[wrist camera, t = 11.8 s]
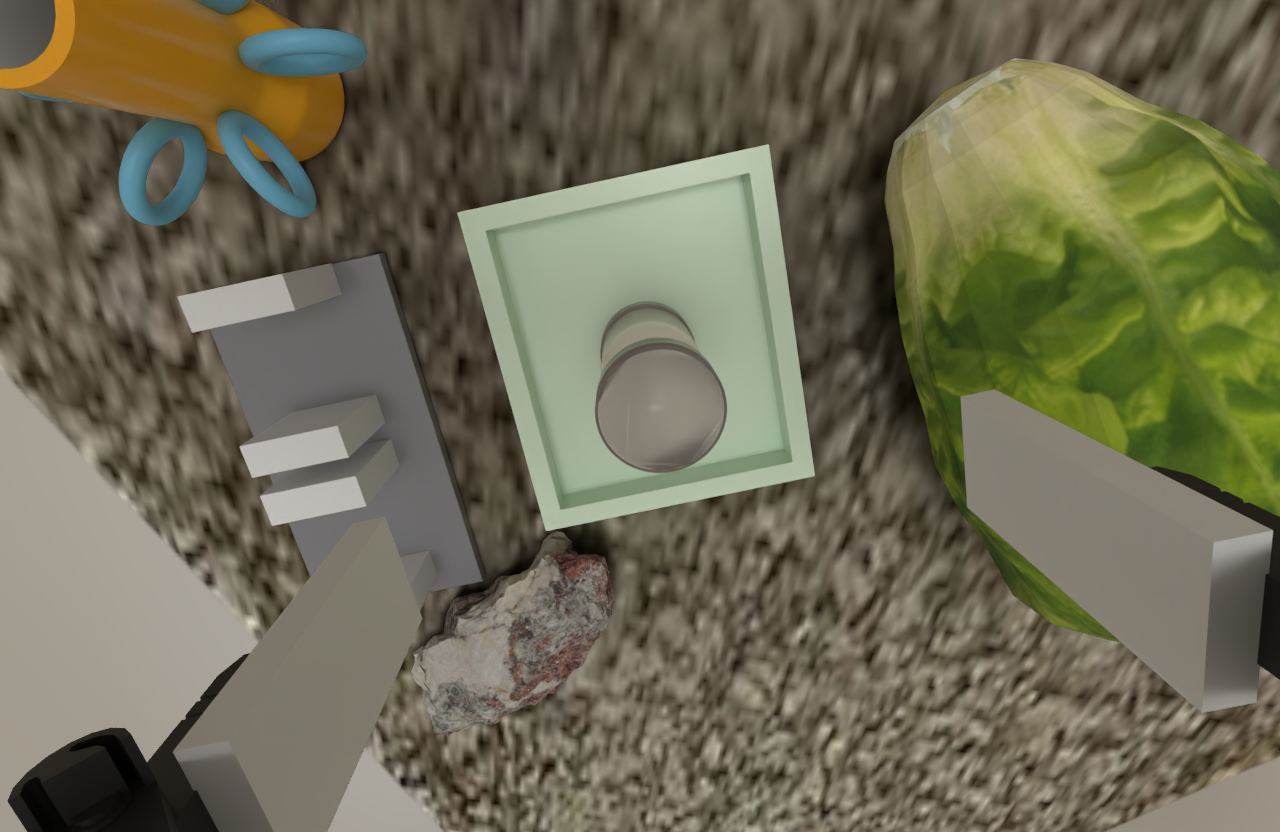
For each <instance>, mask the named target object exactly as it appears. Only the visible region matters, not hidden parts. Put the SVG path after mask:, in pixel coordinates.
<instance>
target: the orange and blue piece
mask: <svg viewBox="0 0 1280 832" xmlns="http://www.w3.org/2000/svg"><path fill="white" fill-rule="evenodd" d="M367 55H368V52H367V48H366V46H365V44H364V43H363V42H362V41H361V40H360V39H359V38H357V37H356V36H354V35H351V34H349V33H345V32H341V31H336V30H330V29H319V28H302V27H301V26H299V25H298V24H296V23H294V22H292V21H291V20H289V19H287V18H285V17H283V16H282V15H280V14H278V13H276V12H275V11H273V10H271V9H269V8H267V7H266V6H264V5H262V4H260V3H258V2H256V1H254V0H0V88H2V89H8V90H13V91H17V92H18V93H20V94H22V95H25V96H27V97H31V98H35V99H40V100H47V101H56V102H72V103H83V104H88V105H94V106H99V107H104V108H110V109H115V110H120V111H125V112H131V113H136V114H141V115H147V116H152V117H157V118H154V119H153V120H151V121H149V122H148V123H146V124H145V125H144V126H143V127H142V128H141V129H140V130H139V131H138V132H137V133H136V134H135V136H134V137H133V139H132V140H131V142H130V143H129V145H128V147H127V149H126V151H125V153H124V156H123V159H122V162H121V166H120V172H119V192H120V197H121V200H122V203H123V205H124V207H125V209H126V210H127V212H128V213H129V214H130V215H131V216H132V217H133V218H134V219H136V220H137V221H139V222H141V223H143V224H147V225H152V226H158V225H164V224H167V223H170V222H172V221H174V220H176V219H177V218H179V217H180V216H181V215H182V214H183V213H184V212H185V211H186V210H187V209H188V208H189V207H190V206H191V205H192V203H193V202H194V200H195V199H196V197H197V195H198V193H199V191H200V189H201V187H202V184H203V182H204V178H205V175H206V170H207V162H208V153H207V148H209V149H211V150H213V151H215V152H218V153H220V154H224V155H227V156H228V158H229V159H230V161H231V162H232V164H233V165H234V166H235V168H236V169H237V170H238V172H239V173H240V174H241V175H242V177H243V178H244V179H245V180H246V181H247V182H248V184H249V185H250V186H251V187H252V188H253V189H254V190H255V191H256V192H257V193H258V194H259V195H261V196H262V197H263V198H264V199H265V200H266V201H268V202H269V203H270V204H271V205H273V206H274V207H276V208H277V209H279V210H280V211H282V212H284V213H286V214H288V215H291V216H294V217H307V216H309V215H311V214H312V213H313V212H314V210H315V208H316V195H315V192H314V189H313V186H312V184H311V182H310V180H309V178H308V176H307V174H306V173H305V171H304V170H303V168H302V167H301V165H300V164H299V162H300V161H304V160H307V159H309V158H312V157H314V156H315V155H317V154H319V153H320V152H321V151H323V150H324V149H325V148H326V147H327V146H328V145H329V144H330V143H331V141H332V140H333V139H334V137H335V136H336V134H337V132H338V130H339V128H340V125H341V123H342V118H343V114H344V99H345V96H344V90H343V84H342V80H341V77H340V74H339V73H342V72H346V71H350V70H353V69H355V68H358V67H359V66H361V65H362V64H363V63H364V62H365V61H366V59H367ZM176 137H179V138H180V139H181V140H182V143H183V146H184V164H183V169H182V172H181V175H180V178H179V180H178V182H177V184H176V185H175V187H174V189H173V190H172V191H171V193H170V194H169V195H168V196H167V197H166V198H165V199H164V200H162V201H161V202H159V203H157V204H153V205H151V204H150V203H149V201H148V199H147V196H146V179H147V174H148V171H149V168H150V165H151V163H152V161H153V159H154V157H155V155H156V154H157V152H158V151H159V150H160V148H161V147H162V146H163V145H164V144H165V143H167V142H168V141H169V140H171V139H173V138H176ZM258 160H260V161H269V162H274V163H275V164H276V166H277V167H278V168H279V169H280V171H281V172H282V173H283V175H284V176H285V178H286V179H287V181H288V183H289V185H290V186H291V188H292V191H293V193H294V194H292V193H291V192H289V191H288V190H286V189H285V188H284V187H283V186H282V185H280V184H279V183H278V182H277V181H276V180H275V179H274V178H273V177H272V176H271V175H270V174H269V173H268V172H267V171H266V170H265V168H264V167H263V166H262V165H261V164H260V162H259V161H258Z"/></svg>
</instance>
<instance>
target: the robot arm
mask: <svg viewBox="0 0 1280 832" xmlns="http://www.w3.org/2000/svg"><path fill="white" fill-rule="evenodd" d="M961 413H962V430H963V446H964V463H965V479H966V496H967V508H969V509H970V510H971V511H972V512H973V513H974V514H975V515H977V516H978V517H979V518H980V519H981V520H982V521H983V522H985V523H986V524H987V525H988V526H989V527H990V528H991V529H993V530H994V531H995V532H996V533H997V534H998V535H999V536H1001V537H1002V538H1003V539H1004V540H1005V541H1006V542H1007V543H1009V544H1010V545H1011V546H1012V547H1013V548H1014V549H1015V550H1017V551H1018V552H1019V553H1020V554H1021V555H1022V556H1023V557H1025V558H1026V559H1027V560H1028V561H1029V562H1030V563H1031V564H1033V565H1034V566H1035V567H1036V568H1037V569H1038V570H1039V571H1041V572H1042V573H1043V574H1044V575H1045V576H1046V577H1047V578H1049V579H1050V580H1051V581H1052V582H1053V583H1054V584H1055V585H1057V586H1058V587H1059V588H1060V589H1061V590H1062V591H1063V592H1064V593H1066V594H1067V595H1068V596H1069V597H1070V598H1071V599H1072V600H1074V601H1075V602H1076V603H1077V604H1078V605H1079V606H1080V607H1082V608H1083V609H1084V610H1085V611H1086V612H1087V613H1088V614H1090V615H1091V616H1092V617H1093V618H1094V619H1095V620H1096V621H1098V622H1099V623H1100V624H1101V625H1102V626H1103V627H1104V628H1106V629H1107V630H1108V631H1109V632H1110V633H1111V634H1112V635H1114V636H1115V637H1116V638H1117V639H1118V640H1119V641H1120V642H1122V643H1123V644H1124V645H1125V646H1126V647H1127V648H1128V649H1130V650H1131V651H1132V652H1133V653H1134V654H1135V655H1136V656H1138V657H1139V658H1140V659H1141V660H1142V661H1143V662H1144V663H1146V664H1147V665H1148V666H1149V667H1150V668H1151V669H1152V670H1154V671H1155V672H1156V673H1157V674H1158V675H1159V676H1160V677H1161V678H1163V679H1164V680H1165V681H1166V682H1167V683H1168V684H1169V685H1171V686H1172V687H1173V688H1174V689H1175V690H1176V691H1177V692H1179V693H1180V694H1181V695H1182V696H1183V697H1184V698H1185V699H1187V700H1188V701H1189V702H1190V703H1191V704H1192V705H1193V706H1195V707H1196V708H1197V709H1198V710H1199V711H1200V712H1201V713H1204V712H1209V711H1214V710H1219V709H1224V708H1230V707H1235V706H1240V705H1245V704H1250V703H1255V702H1256V700H1257V690H1258V680H1259V670H1260V666H1262V667H1263V668H1264V669H1266V670H1267V671H1268V672H1270V673H1271V674H1273V675H1274V676H1275V677H1277V678H1278V679H1279V680H1280V517H1279V516H1277V515H1275V514H1273V513H1270V512H1268V511H1266V510H1264V509H1262V508H1260V507H1258V506H1256V505H1254V504H1252V503H1250V502H1247V503H1244V501H1243V499H1241V498H1239V497H1237V496H1235V495H1233V494H1231V493H1229V492H1227V491H1223V492H1221V490H1220V488H1219V487H1216V486H1214V485H1212V484H1210V483H1208V482H1206V481H1204V480H1202V479H1200V478H1198V477H1196V476H1194V475H1191V474H1187V473H1183V472H1179V471H1175V470H1171V469H1167V468H1163V467H1159V466H1155V467H1150V468H1149V467H1147V466H1145V465H1143V464H1141V463H1139V462H1137V461H1135V460H1133V459H1131V458H1129V457H1127V456H1125V455H1123V454H1121V453H1119V452H1117V451H1115V450H1113V449H1111V448H1109V447H1107V446H1105V445H1103V444H1102V443H1100V442H1098V441H1096V440H1094V439H1092V438H1090V437H1088V436H1086V435H1084V434H1082V433H1080V432H1078V431H1076V430H1074V429H1072V428H1070V427H1068V426H1066V425H1064V424H1062V423H1060V422H1058V421H1056V420H1054V419H1052V418H1050V417H1048V416H1046V415H1044V414H1042V413H1040V412H1038V411H1036V410H1034V409H1032V408H1030V407H1028V406H1026V405H1024V404H1023V403H1021V402H1019V401H1017V400H1015V399H1013V398H1011V397H1009V396H1007V395H1005V394H1003V393H1001V392H999V391H997V390H990V391H985V392H980V393H976V394H971V395H966V396H961ZM421 620H422V616H421V614H420V611H419V608H418V605H417V603H416V600H415V597H414V594H413V592H412V589H411V586H410V583H409V580H408V578H407V575H406V572H405V569H404V567H403V564H402V561H401V558H400V556H399V553H398V550H397V547H396V545H395V542H394V539H393V536H392V534H391V531H390V528H389V525H388V522H387V520H386V517H381V518H376V519H371V520H366V521H361V522H357V523H352V525H351V526H350V527H349V528H348V530H347V531H346V532H345V534H344V535H343V536H342V537H341V539H340V540H339V541H338V542H337V544H336V545H335V546H334V548H333V549H332V550H331V551H330V553H329V554H328V555H327V556H326V558H325V559H324V560H323V561H322V563H321V564H320V565H319V567H318V568H317V569H316V570H315V572H314V573H313V574H312V575H311V577H310V578H309V579H308V581H307V582H306V583H305V584H304V586H303V587H302V588H301V589H300V591H299V592H298V593H297V595H296V596H295V597H294V598H293V600H292V601H291V602H290V603H289V605H288V606H287V607H286V608H285V610H284V611H283V612H282V614H281V615H280V616H279V617H278V619H277V620H276V621H275V622H274V624H273V625H272V626H271V628H270V629H269V630H268V631H267V633H266V634H265V635H264V636H263V638H262V639H261V640H260V642H259V643H258V644H257V646H256V647H255V648H254V649H253V650H252V652H251V653H249V654H245V655H243V656H242V657H241V658H239V659H238V660H237V661H236V662H234V663H233V664H232V665H231V666H229V667H228V668H227V669H226V670H225V671H223V672H222V673H221V674H220V675H218V677H217V678H216V679H215V680H214V681H213V683H212V684H211V685H210V686H209V687H208V689H207V690H206V691H205V692H204V694H203V695H202V696H201V697H200V698H201V700H200V701H198V702H196V703H195V705H194V706H193V707H192V708H191V710H190V711H189V712H188V713H187V714H186V719H185V720H181V722H180V723H179V724H178V726H177V727H176V728H175V729H174V730H173V731H172V733H171V734H170V735H169V736H168V738H167V739H166V740H165V741H164V742H163V744H162V745H161V746H160V747H159V749H158V750H157V751H156V752H155V754H154V755H153V756H152V757H151V759H150V760H149V761H148V762H146V760H145V759H144V757H143V755H142V753H141V752H140V750H139V748H138V746H137V744H136V743H135V741H134V739H133V737H132V735H131V734H130V733H129V732H128V731H127V730H126V729H125V728H109V729H105V730H101V731H98V732H94V733H91V734H89V735H86V736H84V737H82V738H80V739H78V740H75V741H73V742H71V743H69V744H67V745H66V746H64V747H62V748H61V749H59V750H57V751H56V752H54V753H52V754H51V755H49V756H48V757H46V758H45V759H44V760H42V761H41V762H40V763H39V764H37V765H36V766H35V767H34V768H32V769H31V770H30V771H29V772H27V773H26V775H24V777H23V778H22V779H21V780H20V781H19V782H18V783H17V784H16V785H15V787H14V788H13V789H12V792H11V794H10V797H9V799H8V803H9V804H10V806H11V807H12V809H13V810H14V812H15V814H16V815H17V816H18V818H19V820H20V821H21V823H22V824H23V826H24V827H25V829H26V830H27V832H327V831H328V829H329V827H330V824H331V822H332V820H333V818H334V815H335V813H336V811H337V809H338V806H339V804H340V802H341V800H342V798H343V795H344V793H345V791H346V789H347V786H348V784H349V782H350V779H351V777H352V775H353V773H354V771H355V768H356V766H357V764H358V762H359V759H360V757H361V755H362V753H363V750H364V748H365V746H366V744H367V741H368V739H369V737H370V735H371V732H372V730H373V728H374V726H375V723H376V721H377V719H378V717H379V714H380V712H381V710H382V708H383V706H384V703H385V701H386V699H387V697H388V694H389V692H390V690H391V688H392V685H393V683H394V681H395V679H396V676H397V674H398V672H399V670H400V667H401V665H402V663H403V661H404V658H405V656H406V654H407V652H408V649H409V647H410V645H411V643H412V640H413V638H414V636H415V634H416V631H417V629H418V627H419V625H420V622H421ZM1279 751H1280V747H1279Z"/></svg>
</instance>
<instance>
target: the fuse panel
mask: <svg viewBox="0 0 1280 832" xmlns="http://www.w3.org/2000/svg"><path fill="white" fill-rule="evenodd" d="M178 300H179V302H180V305H181V307H182V310H183V312H184V314H185V317H186V319H187V322H188V324H189V326H190V329H191V331H192V333H193V332H197V331H202V330H206V329H210V330H211V333H212V335H213V338H214V340H215V343H216V345H217V348H218V350H219V353H220V355H221V357H222V360H223V362H224V365H225V367H226V370H227V372H228V375H229V377H230V380H231V382H232V385H233V387H234V390H235V392H236V394H237V397H238V399H239V402H240V404H241V407H242V409H243V412H244V414H245V417H246V419H247V422H248V424H249V426H250V429H251V431H252V434H253V436H254V437H253V438H252V439H250V440H248V441H247V442H245V443H244V444H242V445H241V446H239V447H240V449H241V452H242V454H243V457H244V459H245V461H246V464H247V466H248V469H249V471H250V474H251V476H252V478H253V477H258V476H263V475H268V474H269V476H270V478H271V481H272V483H273V486H271V487H270V488H269V489H268V490H267V491H265V492H264V493H263V494H262V495H261V496H260V498H261V500H262V502H263V505H264V507H265V510H266V512H267V515H268V517H269V519H270V522H271V524H272V526H274V525H279V524H284V523H289V525H290V527H291V530H292V532H293V535H294V537H295V540H296V542H297V545H298V547H299V550H300V552H301V555H302V557H303V560H304V562H305V564H306V567H307V569H308V572H309V574H310V577H311V575H312V574H313V573H314V572H315V570H316V569H317V568H318V567H319V565H320V564H321V563H322V561H323V560H324V559H325V558H326V556H327V555H328V554H329V553H330V551H331V550H332V549H333V548H334V546H335V545H336V544H337V542H338V541H339V540H340V539H341V537H342V536H343V535H344V534H345V532H346V531H347V530H348V528H349V527H350V526H351V525H352V523H357V522H361V521H366V520H371V519H376V518H381V517H386V520H387V522H388V525H389V528H390V531H391V534H392V536H393V539H394V542H395V545H396V547H397V550H398V553H399V556H400V558H401V561H402V564H403V567H404V569H405V572H406V575H407V578H408V580H409V583H410V586H411V589H412V592H413V594H414V597H415V600H416V603H417V605H418V608H419V611H420V610H421V608H422V606H423V604H424V602H425V599H426V597H427V595H428V593H429V592H432V591H437V590H442V589H447V588H452V587H457V586H462V585H467V584H472V583H477V582H481V581H483V579H484V576H485V571H484V568H483V565H482V561H481V558H480V555H479V552H478V549H477V545H476V542H475V539H474V536H473V533H472V530H471V526H470V523H469V520H468V517H467V514H466V511H465V507H464V504H463V501H462V498H461V495H460V492H459V488H458V485H457V482H456V479H455V476H454V473H453V469H452V466H451V463H450V460H449V457H448V454H447V450H446V447H445V444H444V441H443V438H442V435H441V431H440V428H439V425H438V422H437V419H436V416H435V412H434V409H433V406H432V403H431V400H430V397H429V393H428V390H427V387H426V384H425V381H424V377H423V374H422V371H421V368H420V365H419V362H418V358H417V355H416V352H415V349H414V346H413V343H412V339H411V336H410V333H409V330H408V327H407V324H406V320H405V317H404V314H403V311H402V308H401V305H400V301H399V298H398V295H397V292H396V289H395V286H394V282H393V279H392V276H391V273H390V270H389V267H388V263H387V260H386V257H385V254H384V253H381V254H376V255H372V256H367V257H363V258H358V259H354V260H349V261H344V262H340V263H335V264H331V263H330V264H325V265H321V266H316V267H311V268H307V269H302V270H297V271H293V272H288V273H283V274H279V275H274V276H270V277H265V278H261V279H256V280H251V281H247V282H242V283H238V284H233V285H228V286H224V287H219V288H215V289H210V290H206V291H201V292H196V293H192V294H187V295H183V296H178Z"/></svg>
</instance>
